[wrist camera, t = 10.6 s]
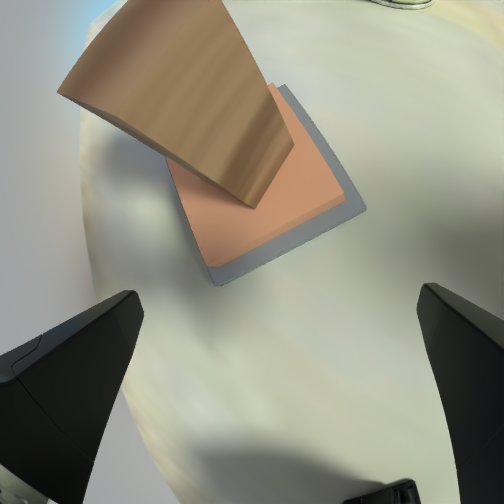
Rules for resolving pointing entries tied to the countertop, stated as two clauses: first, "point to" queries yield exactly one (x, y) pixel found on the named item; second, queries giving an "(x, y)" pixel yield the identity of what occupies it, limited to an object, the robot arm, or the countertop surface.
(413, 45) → the countertop surface
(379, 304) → the countertop surface
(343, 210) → the bottom slab
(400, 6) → the coffee can
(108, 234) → the countertop surface
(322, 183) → the top slab
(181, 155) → the walnut block
